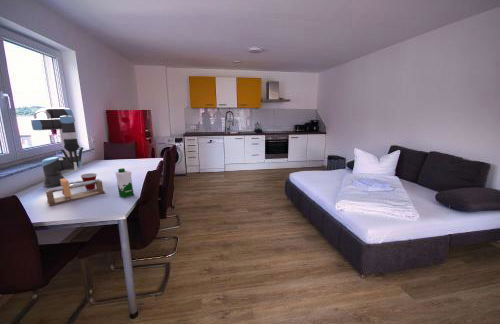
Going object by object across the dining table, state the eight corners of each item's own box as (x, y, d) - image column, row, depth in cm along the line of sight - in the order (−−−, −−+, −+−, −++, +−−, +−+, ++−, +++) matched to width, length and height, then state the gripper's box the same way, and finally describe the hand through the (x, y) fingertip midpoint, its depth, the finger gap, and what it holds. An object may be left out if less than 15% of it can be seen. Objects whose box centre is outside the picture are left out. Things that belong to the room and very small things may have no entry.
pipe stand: (47, 201, 158) (44, 189, 156) (100, 190, 181) (98, 179, 179) (50, 206, 150) (47, 193, 148) (105, 193, 173) (103, 182, 171)
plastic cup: (90, 191, 178) (88, 176, 175) (79, 190, 180) (76, 176, 178) (102, 187, 188) (100, 173, 186) (91, 186, 191) (88, 172, 188)
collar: (62, 193, 163) (59, 179, 161) (67, 192, 166) (65, 178, 163) (65, 197, 156) (62, 182, 154) (71, 196, 158) (68, 181, 156)
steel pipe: (49, 192, 155) (48, 187, 154) (98, 182, 176) (97, 178, 175) (49, 193, 153) (48, 188, 152) (99, 183, 174) (98, 179, 173)
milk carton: (128, 192, 174) (125, 167, 170) (135, 194, 169) (132, 168, 165) (117, 196, 167) (113, 170, 163) (124, 198, 162) (120, 171, 158)
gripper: (59, 139, 151) (65, 174, 156) (82, 138, 160) (88, 170, 166) (57, 138, 156) (63, 172, 161) (80, 137, 165) (85, 168, 171)
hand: (76, 171), depth 163 cm, fingers closed
